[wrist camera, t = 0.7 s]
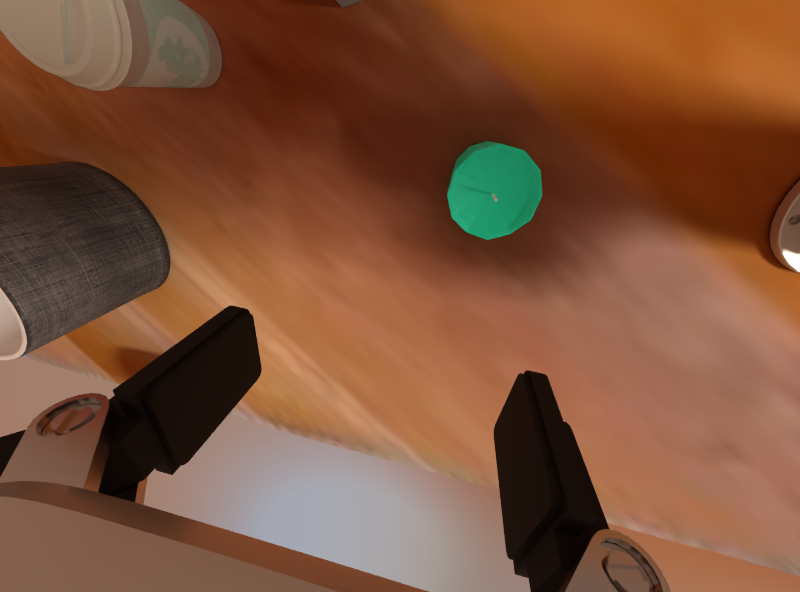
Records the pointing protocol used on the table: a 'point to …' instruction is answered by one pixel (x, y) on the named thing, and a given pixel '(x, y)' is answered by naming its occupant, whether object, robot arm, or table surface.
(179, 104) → the table surface
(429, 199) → the table surface
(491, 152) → the candle
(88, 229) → the planter
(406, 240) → the table surface
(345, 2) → the pedestal
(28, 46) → the coffee cup
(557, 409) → the robot arm
